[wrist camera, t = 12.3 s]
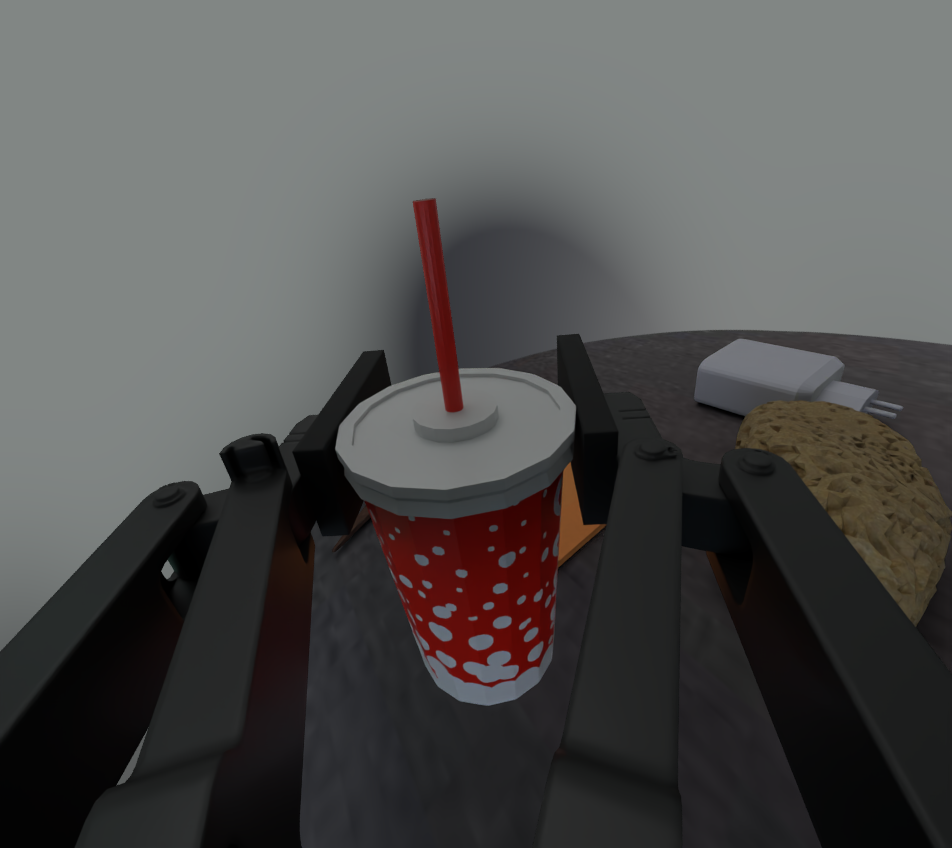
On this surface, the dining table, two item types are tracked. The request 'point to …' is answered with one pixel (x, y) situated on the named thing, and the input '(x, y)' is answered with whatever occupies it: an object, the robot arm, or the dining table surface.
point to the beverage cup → (466, 503)
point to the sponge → (863, 490)
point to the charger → (778, 379)
